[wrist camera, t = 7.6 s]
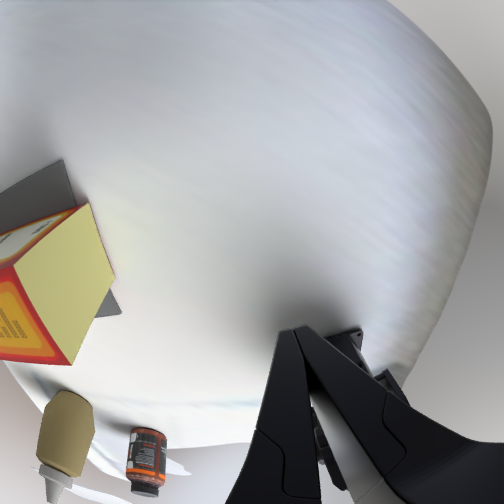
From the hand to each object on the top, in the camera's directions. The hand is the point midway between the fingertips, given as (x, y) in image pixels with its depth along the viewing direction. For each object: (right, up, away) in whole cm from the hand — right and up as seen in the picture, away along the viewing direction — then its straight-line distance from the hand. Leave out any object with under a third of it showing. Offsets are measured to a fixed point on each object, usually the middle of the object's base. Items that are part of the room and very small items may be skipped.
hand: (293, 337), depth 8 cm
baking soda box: (-12, +1, +7) cm, 14 cm away
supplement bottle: (-18, -26, +26) cm, 41 cm away
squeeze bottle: (-27, -19, +21) cm, 39 cm away
